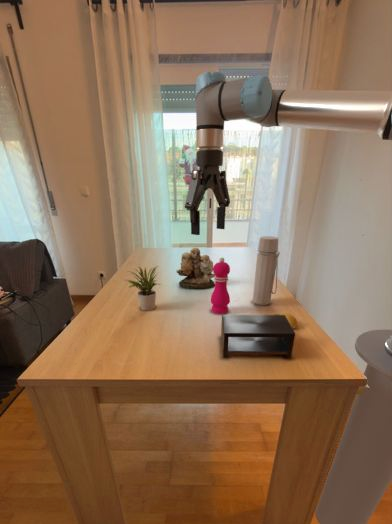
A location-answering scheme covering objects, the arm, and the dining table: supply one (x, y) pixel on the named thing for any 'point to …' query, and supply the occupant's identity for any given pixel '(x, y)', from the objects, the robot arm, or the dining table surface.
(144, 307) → the house plant
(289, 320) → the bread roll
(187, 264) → the owl figurine
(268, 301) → the water bottle
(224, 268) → the pepper mill
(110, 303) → the dining table surface
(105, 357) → the dining table surface
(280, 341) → the rack
